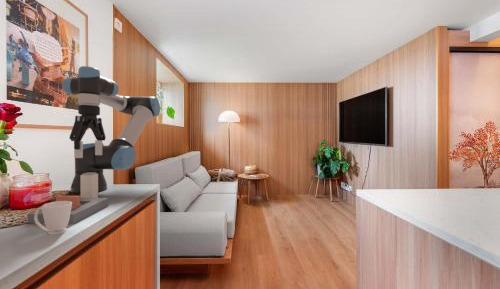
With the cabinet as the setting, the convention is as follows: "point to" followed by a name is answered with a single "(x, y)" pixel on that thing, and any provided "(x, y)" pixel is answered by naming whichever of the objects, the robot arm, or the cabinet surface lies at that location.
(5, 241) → the cabinet surface
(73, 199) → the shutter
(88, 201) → the socket
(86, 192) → the plug
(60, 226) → the cup
